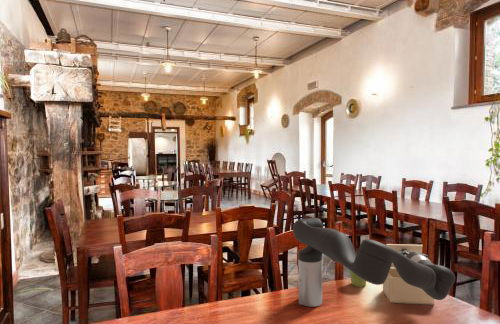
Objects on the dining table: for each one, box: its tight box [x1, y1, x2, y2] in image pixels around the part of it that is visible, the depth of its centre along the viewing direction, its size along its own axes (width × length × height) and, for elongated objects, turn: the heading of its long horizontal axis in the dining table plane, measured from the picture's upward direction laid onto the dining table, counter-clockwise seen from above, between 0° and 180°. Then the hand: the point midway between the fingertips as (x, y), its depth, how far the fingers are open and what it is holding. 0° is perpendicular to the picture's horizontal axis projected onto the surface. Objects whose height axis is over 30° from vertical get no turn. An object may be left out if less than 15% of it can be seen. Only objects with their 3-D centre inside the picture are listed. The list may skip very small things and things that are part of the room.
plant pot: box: [349, 270, 367, 288], centre depth 154 cm, size 9×9×9 cm
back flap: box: [386, 243, 423, 267], centre depth 144 cm, size 14×1×10 cm, turn 83°
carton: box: [382, 267, 435, 306], centre depth 140 cm, size 17×12×10 cm
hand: (404, 251), depth 143 cm, fingers closed
